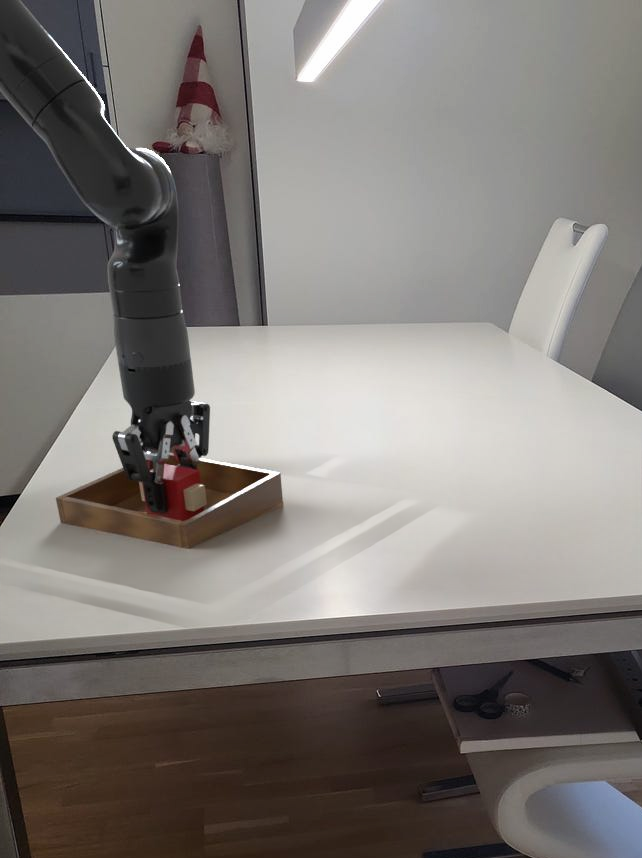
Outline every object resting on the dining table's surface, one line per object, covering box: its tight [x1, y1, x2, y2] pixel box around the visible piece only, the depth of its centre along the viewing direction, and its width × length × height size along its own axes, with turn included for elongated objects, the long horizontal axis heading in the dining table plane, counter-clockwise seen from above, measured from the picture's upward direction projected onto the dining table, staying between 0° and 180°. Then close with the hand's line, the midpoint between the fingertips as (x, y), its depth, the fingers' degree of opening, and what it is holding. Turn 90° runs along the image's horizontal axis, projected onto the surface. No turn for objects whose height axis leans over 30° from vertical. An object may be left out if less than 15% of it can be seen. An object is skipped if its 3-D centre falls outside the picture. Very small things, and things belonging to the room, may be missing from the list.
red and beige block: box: [139, 464, 207, 521], centre depth 119 cm, size 7×4×5 cm, turn 66°
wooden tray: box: [55, 452, 284, 550], centre depth 119 cm, size 18×18×4 cm
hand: (174, 503), depth 119 cm, fingers open, 5 cm apart
